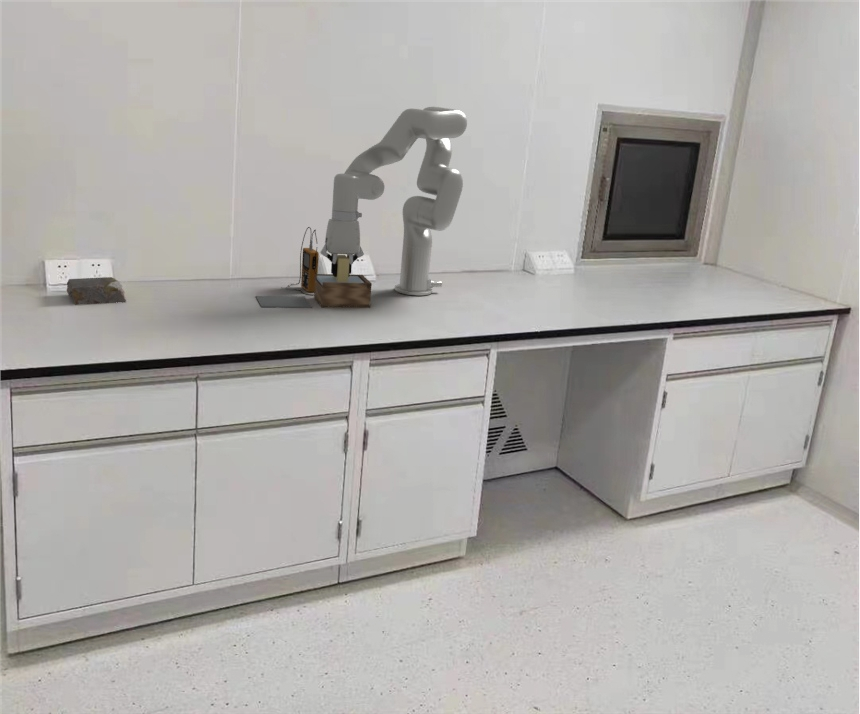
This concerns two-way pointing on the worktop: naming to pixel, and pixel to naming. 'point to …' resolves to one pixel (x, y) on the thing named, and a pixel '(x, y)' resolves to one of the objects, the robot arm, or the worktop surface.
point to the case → (343, 293)
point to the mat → (284, 301)
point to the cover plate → (330, 279)
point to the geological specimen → (95, 290)
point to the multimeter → (308, 267)
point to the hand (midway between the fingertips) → (340, 275)
